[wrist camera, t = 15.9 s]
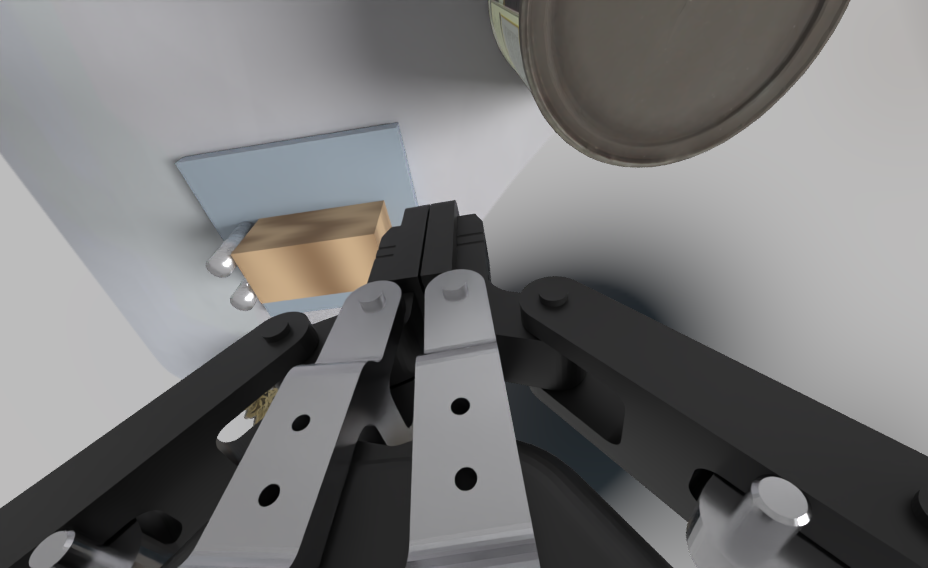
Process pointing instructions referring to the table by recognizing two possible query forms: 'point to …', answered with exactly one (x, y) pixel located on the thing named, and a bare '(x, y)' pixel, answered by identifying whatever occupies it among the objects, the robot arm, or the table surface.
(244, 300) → the dowel pins
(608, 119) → the coffee can
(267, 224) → the flange bar
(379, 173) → the base board
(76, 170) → the table surface
